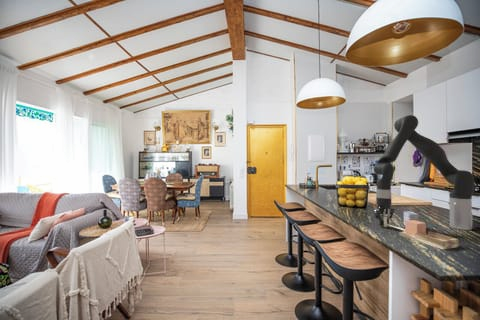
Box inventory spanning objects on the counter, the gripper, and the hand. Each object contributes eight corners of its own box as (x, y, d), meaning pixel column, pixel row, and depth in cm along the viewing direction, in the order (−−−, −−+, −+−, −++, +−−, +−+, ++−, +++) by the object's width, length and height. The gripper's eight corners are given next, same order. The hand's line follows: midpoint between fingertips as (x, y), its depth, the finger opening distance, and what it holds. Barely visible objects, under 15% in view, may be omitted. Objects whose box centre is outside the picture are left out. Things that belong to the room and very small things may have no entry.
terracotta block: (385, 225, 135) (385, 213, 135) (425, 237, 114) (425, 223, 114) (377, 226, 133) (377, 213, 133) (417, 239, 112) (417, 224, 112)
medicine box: (419, 229, 127) (419, 214, 127) (410, 229, 128) (410, 214, 128) (411, 225, 135) (411, 211, 135) (403, 225, 136) (403, 211, 136)
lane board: (413, 233, 121) (413, 226, 121) (458, 246, 102) (458, 239, 102) (399, 235, 119) (399, 228, 119) (442, 249, 99) (442, 241, 99)
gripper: (387, 195, 138) (387, 223, 138) (368, 196, 135) (369, 225, 135) (398, 197, 131) (399, 226, 131) (379, 198, 127) (380, 229, 127)
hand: (384, 225), depth 133 cm, fingers closed on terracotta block, 3 cm apart
